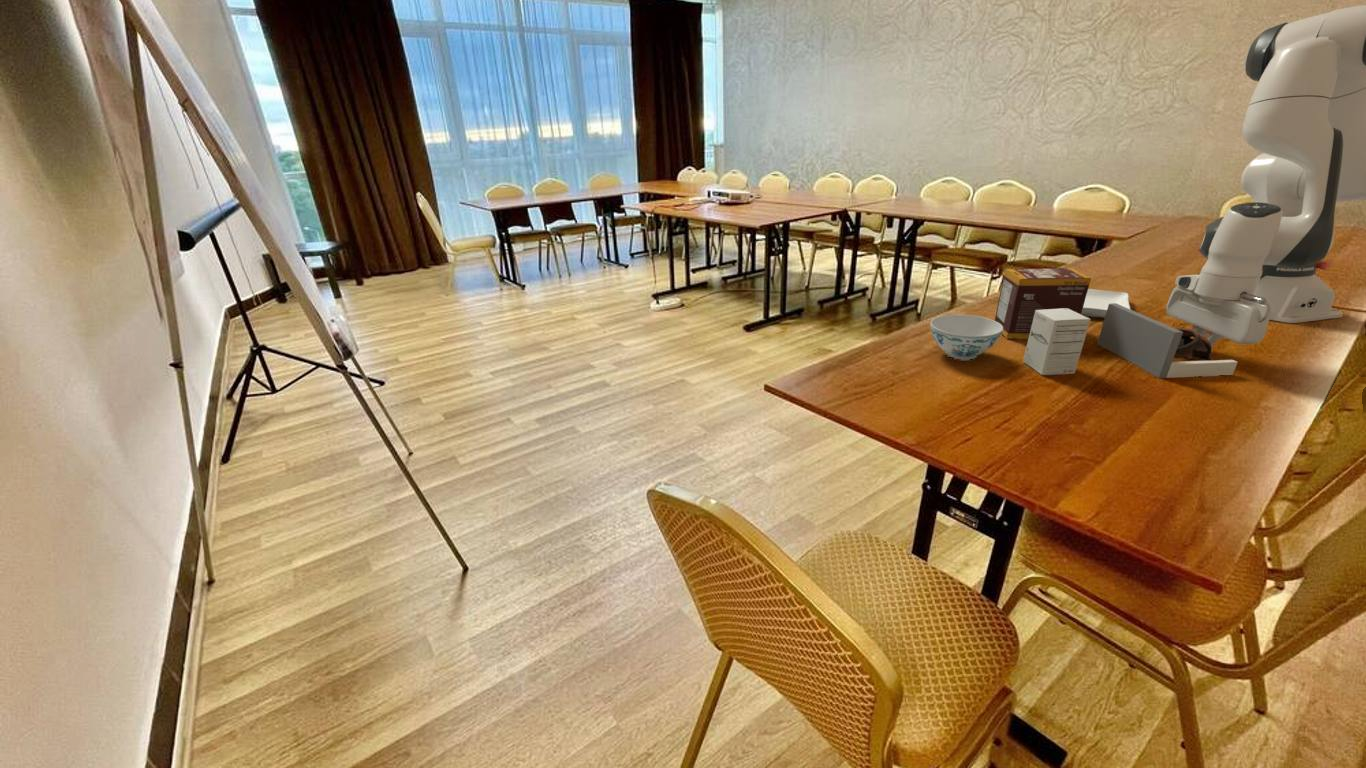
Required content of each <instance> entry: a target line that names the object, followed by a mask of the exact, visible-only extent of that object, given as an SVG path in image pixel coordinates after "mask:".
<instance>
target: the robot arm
mask: <svg viewBox="0 0 1366 768" xmlns="http://www.w3.org/2000/svg"><path fill="white" fill-rule="evenodd" d="M1244 63H1245V64H1244V65H1245V74H1246V77H1248V78H1249V79H1251V80H1252V81H1255V82H1257V85H1256V86H1255V89H1254V91H1253V94H1251V95H1252V96H1251V98H1250V101H1249V104H1248V107H1247V109H1246V112H1245V115H1244V119H1243V125H1242V128H1241V129H1242V130H1241V135H1242V137H1243V140H1244V142H1245V143H1246V144H1248V145H1249V146H1250V147H1251V148H1252V149H1254V150H1257V151H1258V152H1261V154H1259V155H1257V156H1256V157H1255V158H1253V159H1252V160H1251V161H1249V162H1248V164H1247V165H1246V167H1244V169H1243V171H1242V174H1241V178H1240V186H1241V188H1242V190H1243V191H1244V192H1245V193H1247V195H1249V196H1250V198H1251V199H1252V200H1253V202H1251V201H1250V202H1243V203H1238V204H1234V205H1232V206H1230V207H1229V208H1228V209H1227V210H1226V212H1225V214H1224V216H1222V217H1219V218H1217V219H1215V220H1214V221H1211V222H1210V223H1209V224H1207V225H1206V227H1205V233H1204V236H1203V238H1202V239H1203V240H1202V241H1201V245H1200V246H1199V248H1198V249H1197V251H1198V252H1199V253H1200V254H1201V255H1202V257H1204V258H1205V259H1207V261H1206V262H1205V264H1204V265H1203V267H1202V268H1201V270H1200V273H1197V274H1187V275H1185V274H1184V275H1179V276H1177V277H1176V279H1175V284H1174V285H1175V287H1174V288H1173V289H1172V290H1171V293H1170V295H1169V299H1168V301H1167V304H1166V309H1165V310H1166V314H1167V315H1168V316H1169V317H1172V318H1174V319H1177V320H1180V321H1182V322H1185V323H1187V324H1189V325H1192V328H1191V329H1193V330H1195V331H1197V332H1198V333H1199V334H1200V335H1201V336H1203V337H1205V338H1206V339H1207V340H1208V341H1209V342H1210V344H1211V347H1212V348H1211V349H1213V346H1214V344H1215V343H1217V342H1218V341H1219V340H1221V339H1222V338H1224V339H1227V340H1229V341H1232V342H1235V343H1237V344H1241V345H1253V344H1258V343H1260V342H1262V341H1263V340H1264V338H1265V335H1266V333H1267V329H1268V326H1269V322H1270V321H1275V322H1281V323H1286V324H1297V323H1305V322H1313V321H1321V320H1329V319H1330V320H1331V319H1339V318H1343V315H1344V313H1343V312H1342V311H1341V310H1338V309H1336V308H1333V307H1332V306H1333V304H1334V300H1335V298H1336V296H1335V295H1336V294H1335V291H1334V289H1333V288H1331V287H1330V286H1329V285H1328V284H1326V283H1325V282H1324V281H1323V280H1322V279H1321V278H1319V277H1318V276H1317V275H1316V273H1317V272H1316V271H1317V269H1319V270H1322V271H1326V270H1328V269H1329V268H1330V267H1331V266H1332V262H1331V261H1327V260H1326V261H1325V260H1324V259H1325V258H1326V256H1327V255H1328V254H1329V252H1330V251H1331V249H1332V247H1333V244H1334V240H1335V226H1334V224H1335V211H1336V204H1337V202H1352V201H1365V200H1366V4H1361V5H1354V6H1349V7H1344V8H1339V9H1334V10H1332V11H1330V12H1326V13H1320V14H1317V15H1312V16H1309V17H1306V18H1302V19H1297V20H1296V21H1292V22H1290V23H1288V22H1283V23H1280V24H1277V25H1275V26H1272V27H1269V28H1267V29H1265V30H1264V31H1262V32H1261V33H1259V35H1258V36H1257V37H1255V39H1254V40H1253V42H1252V43H1251V45H1250V47H1249V50H1248V51H1247V53H1246V56H1245V62H1244ZM1206 336H1207V337H1206ZM1192 339H1194V337H1192Z"/></svg>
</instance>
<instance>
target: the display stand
mask: <svg viewBox="0 0 1366 768" xmlns="http://www.w3.org/2000/svg"><path fill="white" fill-rule="evenodd" d="M1130 309H1131V308H1130ZM1130 309H1128V308H1126V307H1123V306H1121V305H1119V304H1116V303H1112V304H1109V305H1108V309H1107V312H1106V316H1105V318H1103V319H1104V320H1103V324H1102V325H1101V330H1100V333H1099V336H1098V340H1097V342H1096V343H1097V345H1098V346H1101V347H1102V348H1104V349H1105V350H1107V351H1110V352H1111V353H1113V354H1114V355H1116V354H1117V355H1116V356H1118V355H1119V357H1120V358H1122V359H1124V360H1125V359H1126V361H1128V362H1129V361H1130V362H1129V363H1131V364H1132V365H1134V364H1135V365H1134V366H1136V365H1137V367H1138V368H1140V369H1142V370H1143V371H1145V372H1147V373H1149V374H1150V375H1152V376H1154V377H1157V379H1166V378H1167V379H1168V378H1170V379H1171V378H1195V376H1196V378H1197V377H1198V376H1202V377H1220V376H1219V375H1232V376H1233V374H1234V372H1235V370H1236V368H1237V365H1238V361H1236V360H1234V359H1219V360H1218V359H1217V360H1213V359H1212V360H1211V361H1207V360H1190V361H1189V360H1186V361H1183V360H1182V361H1173V360H1174V359H1175V358H1174V356H1175V353H1176V350H1177V347H1178V345H1179V342H1180V339H1181V337H1182V334H1183V332H1182V331H1179V330H1177V329H1178V328H1176V327H1175V328H1174V327H1172V326H1170V325H1168V324H1165V323H1163V322H1160V321H1158V320H1156V319H1154V318H1151V317H1148V316H1147V315H1144V314H1142V313H1139V312H1137V311H1135V310H1133V309H1131V310H1130ZM1198 378H1199V377H1198Z"/></svg>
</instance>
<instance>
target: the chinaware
mask: <svg viewBox="0 0 1366 768" xmlns="http://www.w3.org/2000/svg"><path fill="white" fill-rule="evenodd" d="M930 330H931V331H930V332H931V335H932V339H933V340H934V341H935V344H937V346H938V347H939V348H940V349H941V350H942V351H944V352H945V353H946V354H947V355H949V356H950V357H953V358H956V359H961V360H960V361H971V360H970V359H973V360H975V359H976V358H977V357H978V356H979V355H982V354H984V353H985V352H987V351H988V350H990V349H991V348H993V346H994V345H995V344H996V343H997V342H998V341H999V339H1000V337H1001V336H1002V334H1001V333H1002V331H1003V326H1002V325H1001V324H1000V323H998V322H996V321H995V319H990V318H989V317H988V318H987V317H984V316H980V315H970V314H947V315H946V314H945V315H939V316H936V317H935V318H933V319H932V320H931V321H930ZM946 354H945V355H946ZM974 358H975V359H974ZM956 359H955V360H956Z"/></svg>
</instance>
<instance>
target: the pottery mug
mask: <svg viewBox="0 0 1366 768" xmlns="http://www.w3.org/2000/svg"><path fill="white" fill-rule="evenodd" d="M1176 329H1177V330H1179V331H1182V332H1183V334H1182V337H1181V339H1180V342H1179V345H1178V347H1177V350H1176V353H1175V356H1174V358H1173V359H1181V358H1187V359H1188V360H1189V359H1190V360H1192V359H1193V358H1195V359H1196V358H1198V359H1201V360H1204V361H1211V360H1213V354H1212V351H1213V350H1212V349H1213V347H1211V344H1210V342H1209V341H1208V340H1207V339H1206V338H1207V337H1206V336H1205V337H1203V336H1201V335H1200V334H1199V333H1198V332H1197V331H1195V330H1193V329H1192V328H1187V327H1183V326H1182V327H1178V328H1176ZM1191 337H1192V338H1191ZM1193 337H1194V338H1193ZM1211 348H1212V349H1211Z"/></svg>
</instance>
